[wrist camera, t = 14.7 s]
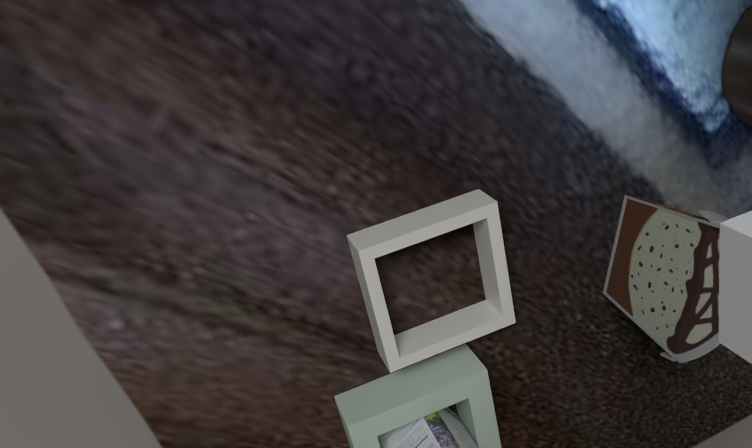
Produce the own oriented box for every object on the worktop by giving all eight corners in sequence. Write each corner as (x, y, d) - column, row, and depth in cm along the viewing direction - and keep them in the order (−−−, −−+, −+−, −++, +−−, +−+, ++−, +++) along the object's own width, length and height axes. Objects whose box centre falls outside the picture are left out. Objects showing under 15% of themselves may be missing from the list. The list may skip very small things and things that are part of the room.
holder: (478, 188, 51) (497, 201, 48) (498, 305, 56) (515, 322, 53) (346, 235, 49) (358, 251, 46) (378, 352, 53) (390, 372, 51)
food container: (654, 302, 61) (739, 360, 53) (599, 308, 59) (678, 369, 51) (686, 176, 57) (785, 216, 48) (628, 178, 55) (720, 220, 46)
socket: (465, 343, 56) (487, 369, 52) (485, 446, 61) (506, 475, 58) (334, 396, 54) (347, 427, 50) (366, 498, 59) (380, 532, 55)
